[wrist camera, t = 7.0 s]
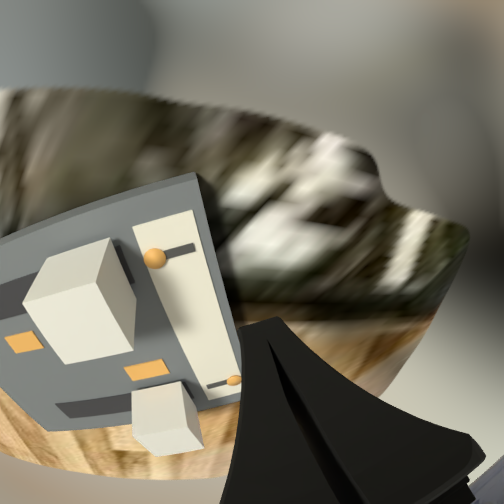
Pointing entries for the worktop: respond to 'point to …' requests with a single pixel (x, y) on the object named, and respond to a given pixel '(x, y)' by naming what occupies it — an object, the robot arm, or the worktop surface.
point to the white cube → (166, 420)
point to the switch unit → (146, 318)
